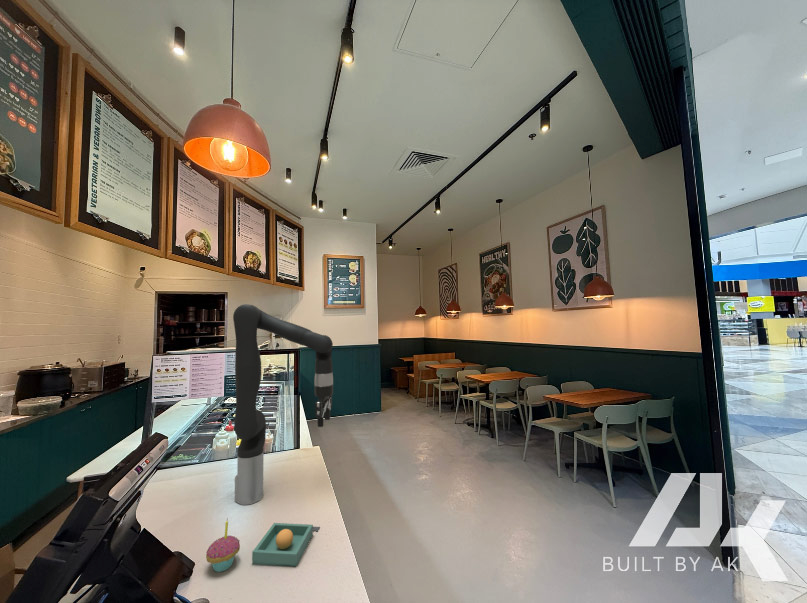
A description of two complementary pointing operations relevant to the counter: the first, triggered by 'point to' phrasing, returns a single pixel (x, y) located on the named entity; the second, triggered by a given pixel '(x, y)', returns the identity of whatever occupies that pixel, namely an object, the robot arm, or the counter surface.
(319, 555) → the counter surface
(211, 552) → the cupcake
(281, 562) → the tray
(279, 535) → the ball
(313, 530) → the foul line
